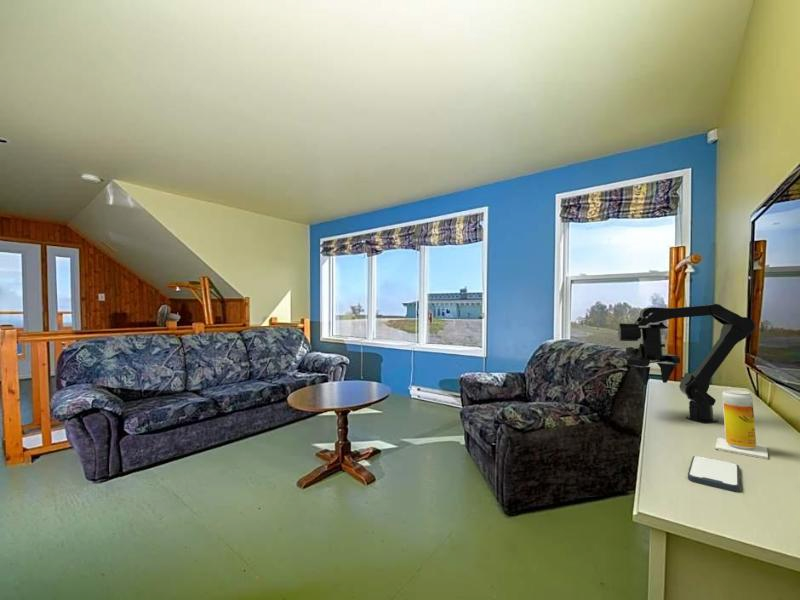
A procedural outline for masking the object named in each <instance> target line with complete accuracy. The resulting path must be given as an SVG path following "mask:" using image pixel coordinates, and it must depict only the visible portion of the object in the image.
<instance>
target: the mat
mask: <svg viewBox="0 0 800 600" xmlns="http://www.w3.org/2000/svg"><path fill="white" fill-rule="evenodd" d="M714 449H715V450H716V449H718V450H717V451H720V450H723V451H722V452H726V451H728V452H727V453H731V452H733V453H732V454H736V453H738V455H742V454H743V455H744V456H747V455H748V457H755V458H760V459H765V460H769V456H768V447H767V445H764V444H759V443H756V447H754V449H752V450H745V449H739V448H735V447H732V446H730V445H728V443H727V442H726V440H725V438H723V437H722V438H721V437H717V439H716V444H715V448H714ZM743 455H742V456H743Z"/></svg>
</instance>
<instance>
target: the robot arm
mask: <svg viewBox="0 0 800 600" xmlns="http://www.w3.org/2000/svg"><path fill="white" fill-rule="evenodd" d="M638 315H639V317H638V318H637V319H636V320H635V322H634V323H622V322H621V323H620V322H618V331H617V336H618V337H617V338H618V342H619V341H620V342H638V341H639V340H640V339H642V343H639V345H638V346H639V347H637V348H634V347H632V346H630V347H625V355H626V356H627V357H628V358H626V364H627V366H629V367H631V368H633V369H635V371H636V372H637V374H638V376H639V379H640V380H641V383H642V384H643V385H644V386H647V385H648V382H649V377H650V372H651V366H650V364H653V363H656V364H657V365H658V366H659V368H660V374H661V380H662V383H664V384H667V383H668V380H670V379H669V378H670V376H671V375H672V373H673V372H674V370H675V369H676V367H677V366H678V364H681V357H680V356H679V355H678V354H668V353H663V348H665V347H666V344H665V343H663V341H662V330H665V329H666V330H667V329H668V328H669V327H668V326H667V325H665V324H664V323H663V322H665V321H667V320H671V319H677V318H681V319H682V318H691V317H704V316H705V317H706V316H710V317H712V318H713V319H714V320H715V321H717V322H718V323H720V324H721V325H722V327H721V329H720V333H719V334H720V335H719V338H718V339H717V341H716V343H715V344H714V345H713V346H712V348H711V349H710V350H709V352H708V353H707V355H706V356H705V358H704V359H703V360H702V362H700V364H699V366H698V367H697V368H696V370H695V371H694V372H692V373H691V374H690V373H689V372H685V373H684V375H683V376H682V379H680V380H678V382H679V385H678V386H679V390H680V391H681V393H682V394H684V395H685V396H686V398H687V399H688V400H690V401H688V404H689V405H688V408H689V409H688V413H689V415H688V416H685V419H688V420H692V421H694V422H695V421H696V422H700V423H702V424H709V423H715V422H719V419H717V418H714V408H713V406H715V403H716V401H717V400H716V399H715V398H714V397H713V396H712V395H710V394H709V393H708V391H709V389H710V386H711V385H710V384H711V380H712V377H713V376H714V375H715V373H716V372H717V371H718V370H719V368H720V367H721V365H722V364H723V362H724V361H725V360H726V358H727V356H729V354H730V353H731V351H733V349H734V347H735V346H736V345H737V344H738V343H740V342H742V341H743V340H744V339H747V337H749V335H750V334H751V333H753V332H754V331H755V329H756V325H755V322H754V321H753V320H752V319H751V318H750V317H746V316H741V315H739V314H738V313H736V312H734V311H731V310H729V309H727V308H725V307H724V306H722V305H721V304H718V303H708V304H706V305H693V306H681V307H671V308H670V307H657V306H656V307H655V306H650V307H649V306H648V307H644V308H642V309H641V310H640V311H639V314H638ZM655 323H656V324H655Z"/></svg>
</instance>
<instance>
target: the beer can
mask: <svg viewBox="0 0 800 600" xmlns="http://www.w3.org/2000/svg"><path fill="white" fill-rule="evenodd" d="M721 398H722V399H721V400H722V409H723V411H722V412H723V422H724V424H723V425H724V436H725V438H724V439H725V440H726V442H727V443H728V445H730V446H732V447H735V448H739V449H745V450H752V449H754V447H756V444H757V439H756V438H757V437H756V427H755V413H754V412H755V411H754V400H753V395H751V392H749V391H746V390H738V389H724V390H723V392H722V393H721Z"/></svg>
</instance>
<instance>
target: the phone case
mask: <svg viewBox="0 0 800 600" xmlns="http://www.w3.org/2000/svg"><path fill="white" fill-rule="evenodd" d="M739 476H740V465H739V464H737V463H735V462H732V461H731V462H730V461H725V460H720V459H714V458H708V457H705V456H699V455H694V456H692V458H691V462H690V465H689V467H688V472H687V479H688V481H690V482H692V483H695V484H700V485H703V486H704V485H705V486H708V487H713V488H717V489H722V490H725V491H729V492H736V493H737V492H738V493H739V492H740V491H741V487H740V486H741V478H740V477H739Z"/></svg>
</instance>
